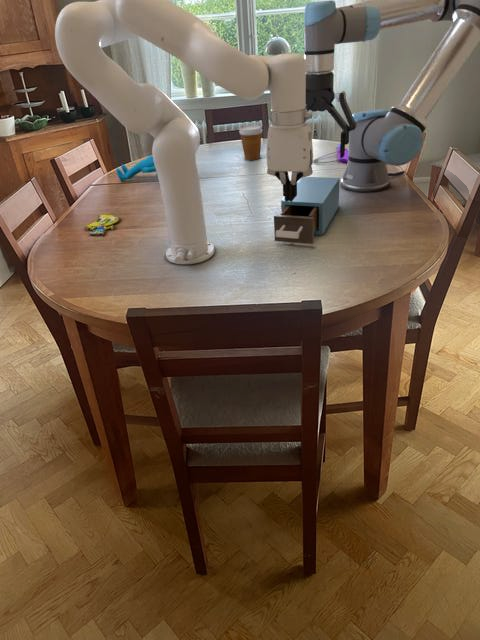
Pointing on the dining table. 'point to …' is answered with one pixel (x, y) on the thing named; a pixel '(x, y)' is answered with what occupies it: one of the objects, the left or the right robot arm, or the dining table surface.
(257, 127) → the disposable coffee cup
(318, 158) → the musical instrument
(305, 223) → the drawer
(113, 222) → the toy
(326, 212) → the blue drawer cabinet
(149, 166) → the toy
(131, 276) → the dining table surface
